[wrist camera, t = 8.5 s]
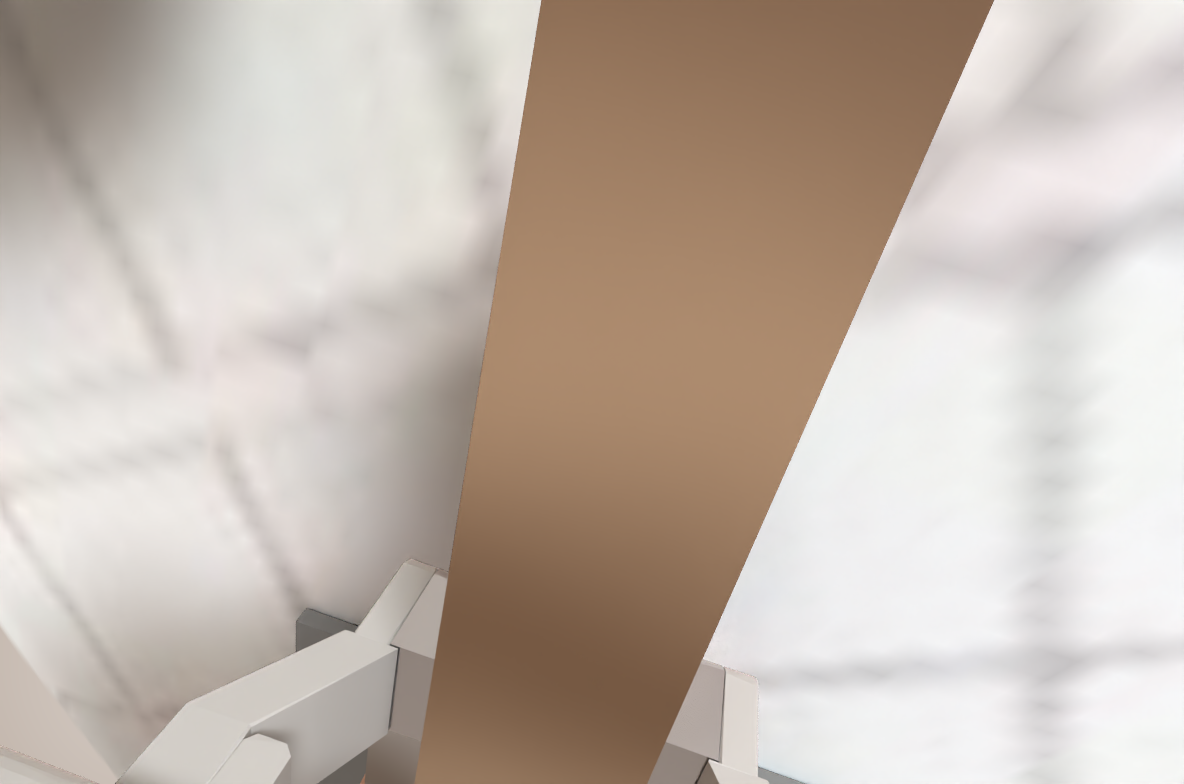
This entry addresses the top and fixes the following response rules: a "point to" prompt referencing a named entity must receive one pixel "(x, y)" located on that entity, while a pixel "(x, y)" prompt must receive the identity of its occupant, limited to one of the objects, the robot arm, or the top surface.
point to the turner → (659, 353)
